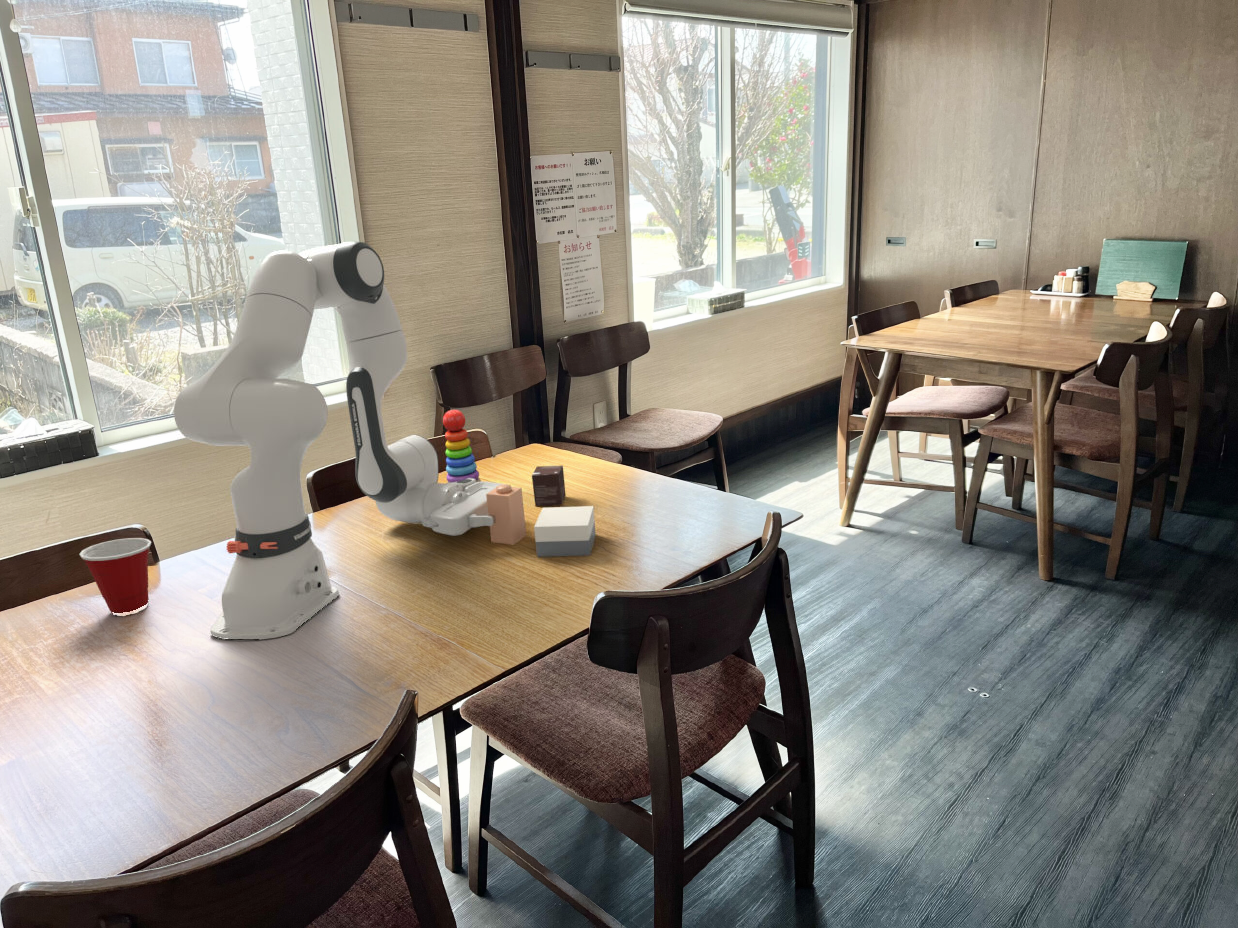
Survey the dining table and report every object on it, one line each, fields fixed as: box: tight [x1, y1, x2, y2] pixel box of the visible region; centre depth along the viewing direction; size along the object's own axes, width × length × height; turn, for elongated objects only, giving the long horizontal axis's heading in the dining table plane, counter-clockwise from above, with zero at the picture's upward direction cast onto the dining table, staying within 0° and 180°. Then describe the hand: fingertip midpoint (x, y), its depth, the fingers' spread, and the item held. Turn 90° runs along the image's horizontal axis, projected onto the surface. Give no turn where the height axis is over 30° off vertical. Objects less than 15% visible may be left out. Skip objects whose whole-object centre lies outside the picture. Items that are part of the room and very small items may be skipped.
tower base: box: [533, 505, 597, 558], centre depth 170 cm, size 10×10×6 cm
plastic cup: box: [79, 537, 152, 613], centre depth 154 cm, size 11×11×12 cm
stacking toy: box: [442, 409, 482, 483], centre depth 205 cm, size 8×8×19 cm
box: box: [531, 465, 567, 507], centre depth 195 cm, size 6×6×7 cm
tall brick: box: [486, 483, 527, 546], centre depth 175 cm, size 5×5×11 cm
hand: (506, 512), depth 175 cm, fingers open, 8 cm apart
